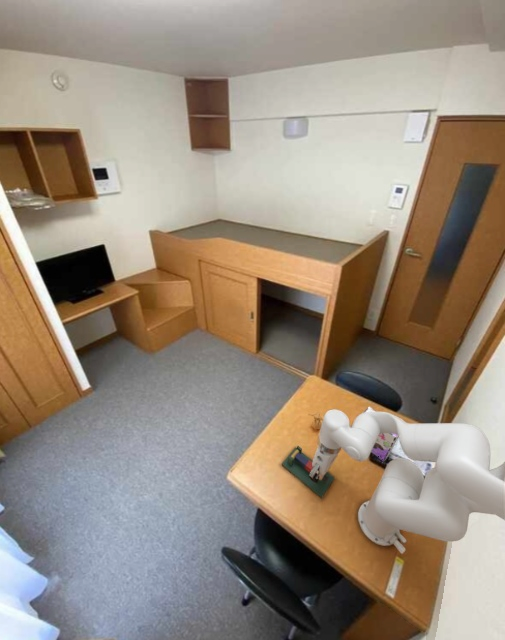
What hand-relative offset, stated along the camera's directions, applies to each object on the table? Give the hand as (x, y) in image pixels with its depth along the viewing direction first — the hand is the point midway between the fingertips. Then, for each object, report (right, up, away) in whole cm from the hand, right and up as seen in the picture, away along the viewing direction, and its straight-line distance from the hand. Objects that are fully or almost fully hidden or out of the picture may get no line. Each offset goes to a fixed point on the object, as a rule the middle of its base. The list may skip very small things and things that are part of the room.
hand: (320, 469), depth 99 cm
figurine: (+3, +5, +22) cm, 23 cm away
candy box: (+25, +1, +16) cm, 29 cm away
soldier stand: (-3, -5, +7) cm, 9 cm away
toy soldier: (-3, -2, +5) cm, 6 cm away
